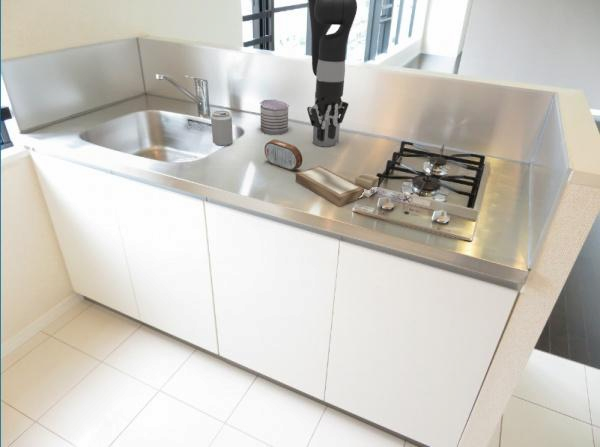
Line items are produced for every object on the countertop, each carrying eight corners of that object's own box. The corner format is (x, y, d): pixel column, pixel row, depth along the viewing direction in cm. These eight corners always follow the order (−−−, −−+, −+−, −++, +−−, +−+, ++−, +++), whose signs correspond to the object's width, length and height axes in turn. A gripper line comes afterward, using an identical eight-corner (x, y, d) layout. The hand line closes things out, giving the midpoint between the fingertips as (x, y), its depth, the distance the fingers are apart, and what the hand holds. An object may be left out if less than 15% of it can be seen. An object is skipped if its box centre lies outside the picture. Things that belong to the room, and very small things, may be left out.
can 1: (229, 148, 154) (227, 116, 148) (209, 145, 155) (207, 114, 149) (235, 141, 160) (234, 110, 154) (217, 139, 161) (215, 108, 155)
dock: (319, 174, 137) (319, 165, 135) (363, 197, 124) (364, 187, 122) (295, 181, 131) (295, 172, 130) (339, 206, 118) (339, 196, 116)
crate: (362, 187, 130) (364, 172, 127) (376, 192, 127) (378, 177, 125) (354, 193, 126) (356, 177, 124) (368, 197, 124) (370, 182, 121)
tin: (302, 171, 138) (303, 147, 134) (296, 174, 136) (297, 150, 132) (269, 159, 146) (269, 136, 142) (263, 161, 144) (262, 138, 140)
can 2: (280, 126, 178) (280, 98, 171) (293, 134, 169) (294, 105, 163) (255, 130, 172) (255, 100, 166) (268, 138, 164) (267, 108, 158)
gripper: (340, 72, 118) (335, 131, 127) (301, 77, 110) (298, 140, 119) (358, 77, 113) (352, 139, 122) (319, 83, 105) (315, 147, 114)
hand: (325, 139), depth 120 cm, fingers open, 3 cm apart
